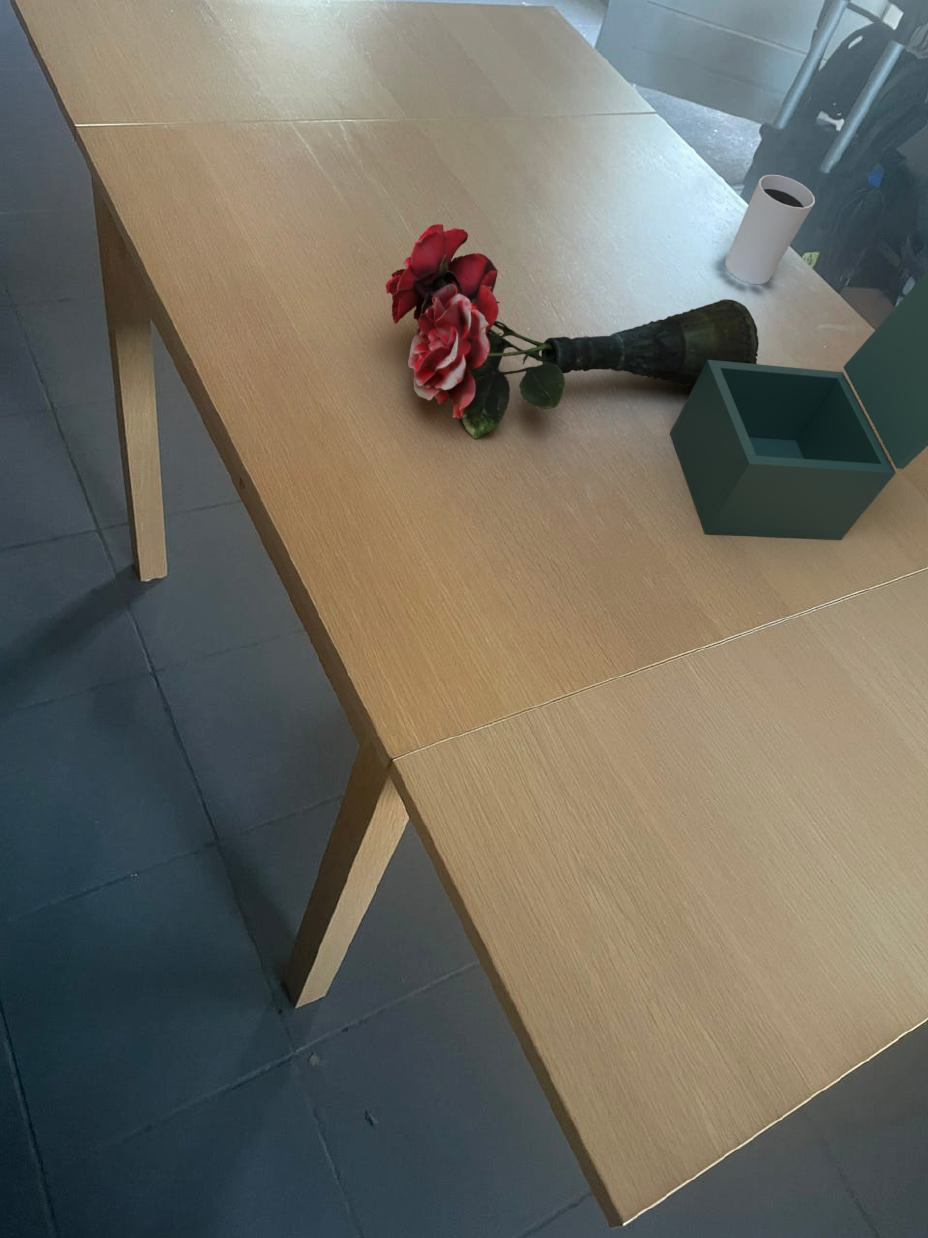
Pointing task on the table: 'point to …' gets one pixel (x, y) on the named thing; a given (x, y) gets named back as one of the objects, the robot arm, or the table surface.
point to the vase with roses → (463, 347)
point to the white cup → (768, 228)
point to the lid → (897, 376)
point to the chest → (778, 452)
